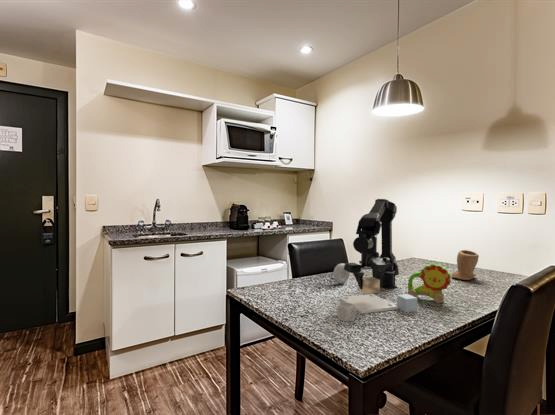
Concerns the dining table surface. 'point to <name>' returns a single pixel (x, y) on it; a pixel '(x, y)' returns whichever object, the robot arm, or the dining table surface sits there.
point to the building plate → (368, 303)
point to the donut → (337, 272)
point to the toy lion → (431, 282)
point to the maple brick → (370, 285)
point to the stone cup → (466, 265)
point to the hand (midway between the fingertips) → (368, 288)
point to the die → (346, 312)
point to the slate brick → (407, 303)
